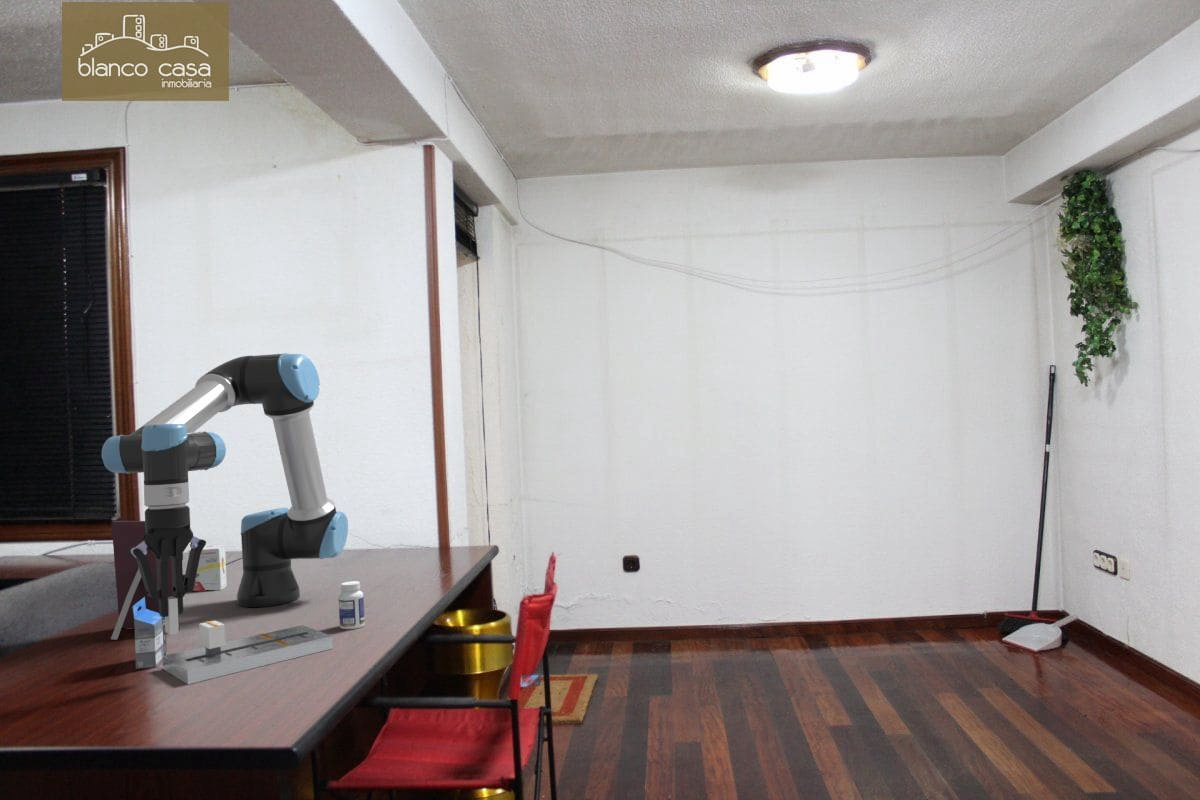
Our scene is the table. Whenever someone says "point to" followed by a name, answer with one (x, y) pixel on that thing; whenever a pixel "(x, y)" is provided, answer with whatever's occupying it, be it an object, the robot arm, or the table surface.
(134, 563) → the picture frame
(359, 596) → the pill bottle
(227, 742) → the table surface
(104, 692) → the table surface
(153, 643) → the label tape cartridge
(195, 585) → the ink box
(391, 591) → the table surface
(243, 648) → the console
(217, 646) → the fader knob
